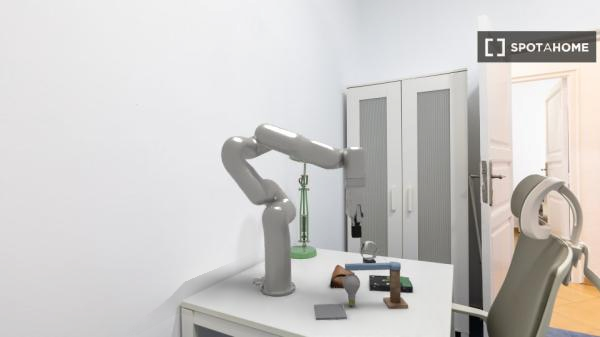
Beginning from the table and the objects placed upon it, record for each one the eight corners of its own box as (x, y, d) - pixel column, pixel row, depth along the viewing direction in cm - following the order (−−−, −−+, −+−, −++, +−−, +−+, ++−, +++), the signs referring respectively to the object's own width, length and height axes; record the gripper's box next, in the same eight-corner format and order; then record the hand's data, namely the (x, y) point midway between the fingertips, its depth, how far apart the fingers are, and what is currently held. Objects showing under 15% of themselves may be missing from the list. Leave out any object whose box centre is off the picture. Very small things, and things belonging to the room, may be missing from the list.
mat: (316, 319, 91) (316, 318, 91) (314, 306, 100) (314, 304, 100) (347, 318, 91) (347, 317, 91) (342, 305, 100) (342, 303, 100)
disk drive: (370, 292, 111) (413, 294, 109) (369, 284, 111) (413, 286, 109) (368, 281, 121) (408, 283, 119) (368, 274, 121) (408, 275, 119)
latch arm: (346, 271, 98) (346, 266, 98) (344, 267, 101) (344, 263, 101) (402, 270, 98) (402, 265, 98) (398, 266, 102) (398, 261, 102)
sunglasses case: (353, 289, 113) (343, 272, 113) (337, 298, 114) (327, 281, 115) (355, 272, 130) (346, 258, 131) (340, 280, 132) (332, 266, 132)
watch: (358, 264, 141) (358, 240, 140) (376, 264, 141) (375, 239, 141) (361, 268, 135) (361, 243, 135) (380, 268, 135) (379, 242, 135)
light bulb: (358, 301, 102) (357, 271, 102) (362, 309, 97) (361, 277, 97) (341, 302, 102) (341, 271, 102) (344, 309, 97) (344, 277, 97)
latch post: (389, 308, 97) (388, 272, 97) (383, 300, 103) (382, 266, 103) (408, 308, 97) (407, 272, 97) (401, 300, 103) (400, 266, 103)
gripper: (340, 182, 114) (342, 233, 114) (347, 185, 99) (349, 243, 99) (361, 182, 114) (362, 232, 114) (371, 184, 99) (373, 242, 99)
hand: (356, 237), depth 107 cm, fingers closed
